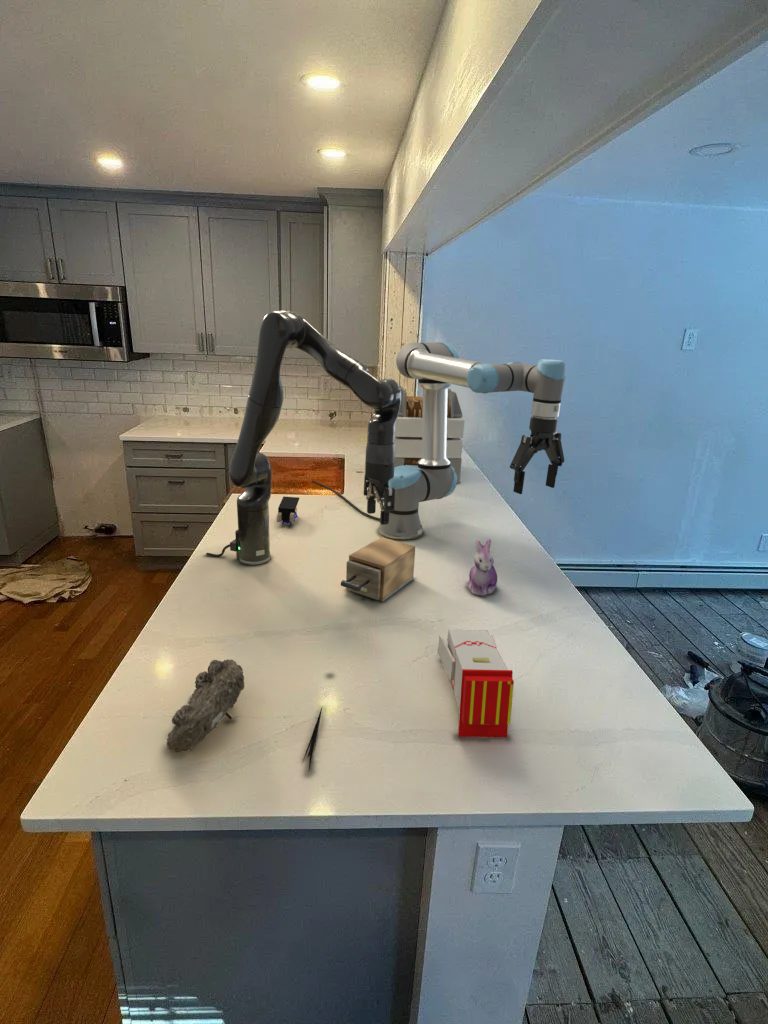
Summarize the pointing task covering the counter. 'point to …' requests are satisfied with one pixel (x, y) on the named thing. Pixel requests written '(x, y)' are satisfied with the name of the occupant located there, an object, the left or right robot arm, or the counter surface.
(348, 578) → the drawer
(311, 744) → the feather
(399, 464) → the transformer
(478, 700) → the toy
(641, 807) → the counter surface
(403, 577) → the cabinet
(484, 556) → the figurine
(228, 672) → the fossil
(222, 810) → the counter surface
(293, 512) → the figurine character
